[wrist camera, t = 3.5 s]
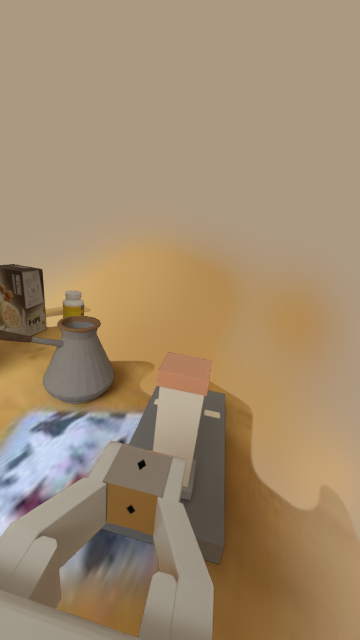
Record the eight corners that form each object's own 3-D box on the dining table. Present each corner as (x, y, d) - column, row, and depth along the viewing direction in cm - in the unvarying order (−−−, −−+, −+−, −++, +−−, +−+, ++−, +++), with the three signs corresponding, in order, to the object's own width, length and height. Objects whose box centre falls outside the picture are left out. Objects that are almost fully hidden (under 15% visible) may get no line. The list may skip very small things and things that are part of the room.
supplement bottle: (84, 328, 69) (84, 295, 66) (63, 329, 67) (61, 294, 63) (83, 322, 73) (83, 290, 70) (63, 322, 71) (62, 289, 68)
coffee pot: (95, 366, 51) (95, 297, 46) (126, 394, 44) (130, 315, 39) (-40, 407, 36) (-60, 312, 31) (-27, 460, 29) (-51, 345, 24)
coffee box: (48, 328, 66) (44, 268, 61) (28, 337, 60) (22, 271, 55) (19, 322, 68) (13, 263, 62) (-2, 329, 62) (-11, 265, 57)
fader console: (97, 527, 24) (97, 509, 23) (158, 392, 46) (159, 380, 45) (219, 564, 22) (224, 546, 22) (222, 405, 44) (225, 393, 43)
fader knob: (143, 487, 25) (154, 370, 21) (153, 455, 29) (165, 350, 25) (190, 500, 25) (212, 382, 20) (195, 466, 29) (214, 360, 24)
